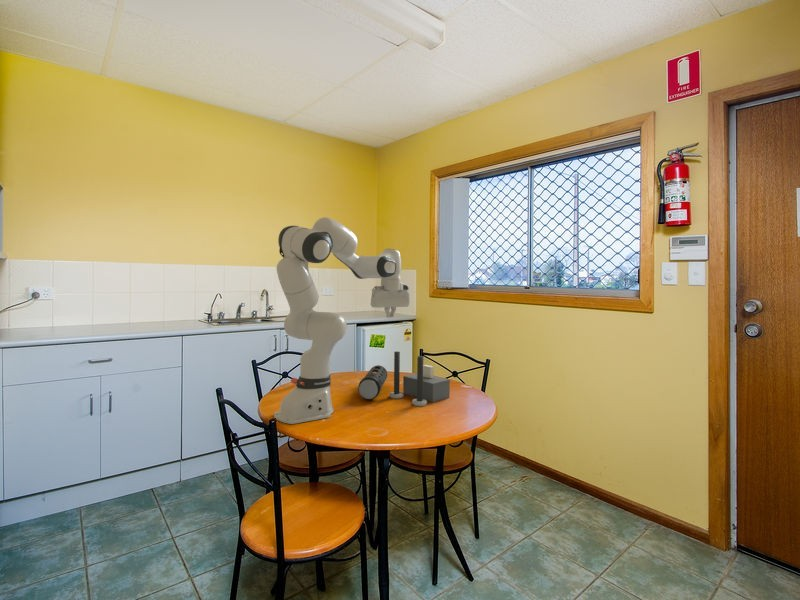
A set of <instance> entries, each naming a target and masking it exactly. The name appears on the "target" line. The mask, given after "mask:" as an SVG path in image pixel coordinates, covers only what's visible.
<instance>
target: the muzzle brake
mask: <svg viewBox="0 0 800 600" xmlns="http://www.w3.org/2000/svg"><path fill="white" fill-rule="evenodd" d="M387 379H388V371H387V369H386V368H385V367H384V366H383V365H379V364H378V365H373V366H372V367H371V368H370V369H369V371H368V372H367V373H366V374H365V376H364V377H362V379H361V380H360V381H359V383H358V385H357V390H358V393H359V395H360V396H361V397H362V398H364V399H366V400H373V399H376V398H377V397H378V396H379V394H380V392H381V391H382V388H383V386H384V385H385V382H386V380H387Z"/></svg>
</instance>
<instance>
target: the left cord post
mask: <svg viewBox="0 0 800 600" xmlns="http://www.w3.org/2000/svg"><path fill="white" fill-rule="evenodd" d="M400 353H401V352H400V351H394V355H393V357H394V358H393V391H391V392H389V398H390V399H395V400H397V399H398V400H399V399H400V400H401V399H403V398H404V394H403V391H400V379H401V378H400V377H401V376H400V367H401V366H400V365H401V364H400V362H401V360H400V359H401V358H400V357H401V356H400V355H401V354H400Z"/></svg>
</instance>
